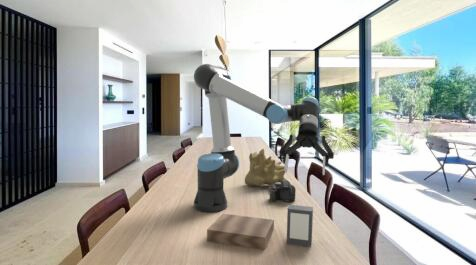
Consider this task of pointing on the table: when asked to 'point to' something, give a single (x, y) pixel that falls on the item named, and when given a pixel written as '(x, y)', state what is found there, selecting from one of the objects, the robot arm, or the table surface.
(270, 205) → the table surface
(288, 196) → the camera
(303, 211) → the tall slate rectangular prism
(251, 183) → the decorative coral
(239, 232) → the display block
